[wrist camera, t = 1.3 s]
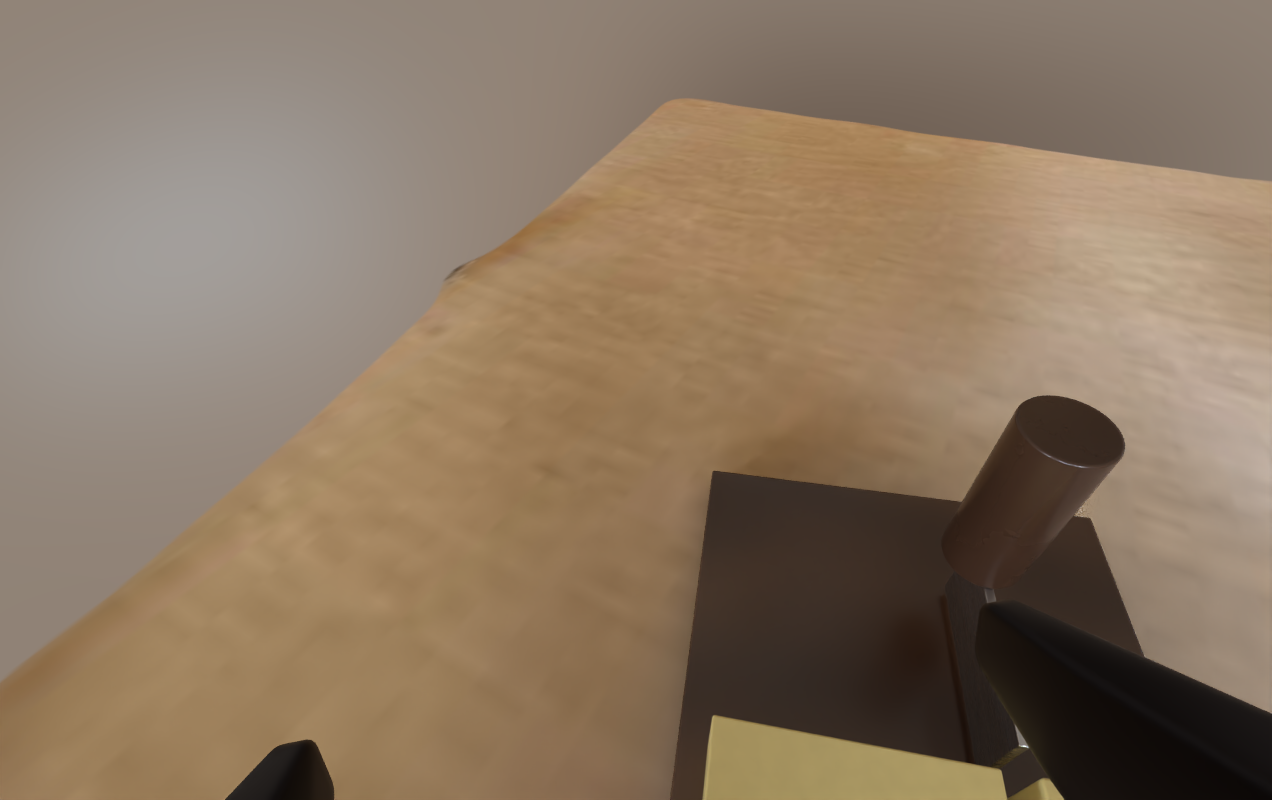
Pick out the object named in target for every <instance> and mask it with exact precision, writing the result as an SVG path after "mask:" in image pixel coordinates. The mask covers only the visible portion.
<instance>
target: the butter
mask: <svg viewBox="0 0 1272 800" xmlns="http://www.w3.org/2000/svg"><path fill="white" fill-rule="evenodd" d="M703 800H1007V796H1006V791H1005V786H1004V781H1003V776H1002V772H1001V770H1000V769H997V768H991V767H986V766H981V765H976V764H970V763H965V762H960V761H955V760H949V759H944V758H939V757H933V756H928V755H923V754H918V753H912V752H907V751H902V750H896V749H891V748H886V747H881V746H875V745H870V744H865V743H860V742H854V741H849V740H844V739H838V738H833V737H828V736H823V735H817V734H812V733H807V732H801V731H796V730H791V729H786V728H780V727H775V726H770V725H765V724H759V723H754V722H749V721H743V720H738V719H733V718H728V717H722V716H717V715H714V716H713V717H712V722H711V728H710V735H709V741H708V748H707V759H706V769H705V779H704V789H703Z"/></svg>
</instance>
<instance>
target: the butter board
mask: <svg viewBox="0 0 1272 800" xmlns="http://www.w3.org/2000/svg"><path fill="white" fill-rule="evenodd" d="M961 503H962V502H958V501H950V500H942V499H934V498H926V497H918V496H910V495H902V494H894V493H886V492H878V491H870V490H863V489H855V488H847V487H839V486H831V485H823V484H815V483H807V482H799V481H791V480H783V479H775V478H767V477H759V476H751V475H743V474H735V473H727V472H719V471H713V472H712V479H711V487H710V495H709V503H708V510H707V518H706V526H705V534H704V541H703V549H702V557H701V565H700V572H699V580H698V588H697V596H696V603H695V611H694V619H693V626H692V634H691V642H690V650H689V657H688V665H687V673H686V681H685V688H684V696H683V704H682V712H681V719H680V727H679V735H678V743H677V750H676V758H675V766H674V774H673V781H672V789H671V797H670V800H703V789H704V779H705V769H706V759H707V748H708V741H709V735H710V728H711V722H712V717H713V716H714V715H717V716H722V717H728V718H733V719H738V720H743V721H749V722H754V723H759V724H765V725H770V726H775V727H780V728H786V729H791V730H796V731H801V732H807V733H812V734H817V735H823V736H828V737H833V738H838V739H844V740H849V741H854V742H860V743H865V744H870V745H875V746H881V747H886V748H891V749H896V750H902V751H907V752H912V753H918V754H923V755H928V756H933V757H939V758H944V759H949V760H955V761H960V762H965V763H970V764H976V762H975V757H974V751H973V745H972V740H971V734H970V728H969V723H968V717H967V711H966V706H965V700H964V694H963V688H962V683H961V677H960V671H959V666H958V660H957V654H956V649H955V643H954V637H953V632H952V626H951V620H950V615H949V609H948V603H947V598H946V592H945V585H946V583H947V582H948V580H949V579H950V577H951V576H952V574H953V573H954V570H953V568H952V567H951V566H950V565H949V563H948V562H947V560H946V559H945V557H944V554H943V551H942V545H941V541H942V536H943V534H944V532H945V530H946V528H947V527H948V525H949V523H950V522H951V520H952V518H953V516H954V515H955V513H956V511H957V510H958V508H959V506H960V505H961ZM994 594H995V598H996V601H999V600H1004V599H1013V600H1017V601H1019V602H1021V603H1024V604H1026V605H1028V606H1030V607H1033V608H1035V609H1037V610H1039V611H1042V612H1044V613H1046V614H1048V615H1051V616H1053V617H1055V618H1057V619H1060V620H1062V621H1064V622H1066V623H1069V624H1071V625H1073V626H1075V627H1078V628H1080V629H1082V630H1084V631H1087V632H1089V633H1091V634H1093V635H1096V636H1098V637H1100V638H1102V639H1105V640H1107V641H1109V642H1111V643H1114V644H1116V645H1118V646H1120V647H1123V648H1125V649H1127V650H1129V651H1132V652H1134V653H1136V654H1138V655H1141V656H1143V657H1144V655H1143V652H1142V650H1141V647H1140V644H1139V642H1138V639H1137V637H1136V634H1135V632H1134V629H1133V627H1132V624H1131V621H1130V619H1129V616H1128V614H1127V611H1126V609H1125V606H1124V603H1123V601H1122V598H1121V596H1120V593H1119V591H1118V588H1117V585H1116V583H1115V580H1114V578H1113V575H1112V573H1111V570H1110V567H1109V565H1108V562H1107V560H1106V557H1105V555H1104V552H1103V549H1102V547H1101V544H1100V542H1099V539H1098V537H1097V534H1096V532H1095V529H1094V526H1093V524H1092V521H1091V519H1090V518H1085V517H1077V516H1073V517H1072V518H1071V519H1070V521H1069V522H1068V523H1067V524H1066V525H1065V526H1064V528H1063V529H1062V530H1061V531H1060V532H1059V534H1058V535H1057V536H1056V537H1055V538H1054V540H1053V541H1052V542H1051V543H1050V544H1049V546H1048V547H1047V548H1046V549H1045V550H1044V552H1043V553H1042V554H1041V555H1040V556H1039V558H1038V559H1037V560H1036V561H1035V562H1034V564H1033V565H1032V566H1031V567H1030V568H1029V570H1028V571H1027V572H1026V573H1025V574H1024V576H1023V577H1022V578H1021V579H1020V580H1019V581H1018V582H1017V583H1016V584H1014V585H1012V586H1010V587H1007V588H1002V589H994ZM1000 770H1001V772H1002V776H1003V781H1004V786H1005V791H1006V796H1007V799H1008V798H1009V797H1011V796H1013V795H1014V794H1016V793H1018V792H1019V791H1021V790H1023V789H1024V788H1026V787H1028V786H1030V785H1031V784H1033V783H1035V782H1036V781H1038V780H1040V779H1041V778H1047V779H1049V778H1048V776H1047V775H1046V773H1045V772H1044V770H1043V769H1042V767H1041V765H1040V764H1039V762H1038V761H1037V759H1036V758H1035V756H1034V755H1033V753H1032V751H1031V750H1030V748H1029V749H1028V750H1026V751H1025V752H1023V753H1022V754H1020V755H1019V756H1018V757H1016V758H1015V759H1013V760H1012V761H1010V762H1009V763H1008V764H1006V765H1005V766H1003V767H1002V768H1000Z"/></svg>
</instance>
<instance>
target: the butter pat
mask: <svg viewBox="0 0 1272 800" xmlns="http://www.w3.org/2000/svg"><path fill="white" fill-rule="evenodd" d="M1007 800H1064V799H1063V797H1062V796H1061V795H1060V793H1059V792H1058V790H1057V789H1056V787H1055V786H1054V785H1053V783H1052V782H1051V780H1050V779H1047V778H1041V779H1040V780H1038V781H1036V782H1035V783H1033V784H1031V785H1030V786H1028V787H1026V788H1024V789H1023V790H1021V791H1019V792H1018V793H1016V794H1014V795H1013V796H1011V797H1009V798H1008V799H1007Z"/></svg>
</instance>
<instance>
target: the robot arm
mask: <svg viewBox="0 0 1272 800" xmlns="http://www.w3.org/2000/svg"><path fill="white" fill-rule="evenodd" d="M975 655H976V659H977V661H978V664H979V666H980V668H981V670H982V671H983V673H984V674H985V676H986V678H987V679H988V681H989V683H990V684H991V686H992V688H993V689H994V691H995V692H996V694H997V696H998V697H999V699H1000V701H1001V702H1002V704H1003V706H1004V707H1005V709H1006V710H1007V712H1008V714H1009V715H1010V717H1011V719H1012V720H1013V722H1014V723H1015V725H1016V727H1017V728H1018V730H1019V732H1020V733H1021V735H1022V737H1023V738H1024V740H1025V741H1026V743H1027V745H1028V746H1029V748H1030V750H1031V751H1032V753H1033V755H1034V756H1035V758H1036V759H1037V761H1038V762H1039V764H1040V765H1041V767H1042V769H1043V770H1044V772H1045V773H1046V775H1047V776H1048V778H1049V779H1050V780H1051V782H1052V783H1053V785H1054V786H1055V787H1056V789H1057V790H1058V792H1059V793H1060V795H1061V796H1062V797H1063V799H1064V800H1272V714H1271V713H1269V712H1267V711H1264V710H1262V709H1260V708H1258V707H1255V706H1253V705H1251V704H1249V703H1246V702H1244V701H1242V700H1240V699H1237V698H1235V697H1233V696H1231V695H1228V694H1226V693H1224V692H1222V691H1219V690H1217V689H1215V688H1213V687H1210V686H1208V685H1206V684H1204V683H1201V682H1199V681H1197V680H1195V679H1192V678H1190V677H1188V676H1186V675H1183V674H1181V673H1179V672H1177V671H1174V670H1172V669H1170V668H1168V667H1165V666H1163V665H1161V664H1159V663H1156V662H1154V661H1152V660H1150V659H1147V658H1145V657H1143V656H1141V655H1138V654H1136V653H1134V652H1132V651H1129V650H1127V649H1125V648H1123V647H1120V646H1118V645H1116V644H1114V643H1111V642H1109V641H1107V640H1105V639H1102V638H1100V637H1098V636H1096V635H1093V634H1091V633H1089V632H1087V631H1084V630H1082V629H1080V628H1078V627H1075V626H1073V625H1071V624H1069V623H1066V622H1064V621H1062V620H1060V619H1057V618H1055V617H1053V616H1051V615H1048V614H1046V613H1044V612H1042V611H1039V610H1037V609H1035V608H1033V607H1030V606H1028V605H1026V604H1024V603H1021V602H1019V601H1017V600H1013V599H1004V600H999V601H994V602H989V603H986V604H984V605H983V606H982V607H981V608H980V611H979V617H978V625H977V633H976V640H975ZM225 800H334V787H333V782H332V779H331V777H330V775H329V772H328V770H327V768H326V765H325V763H324V761H323V758H322V756H321V753H320V751H319V749H318V747H317V745H316V743H315V742H313V741H312V740H302V741H297V742H292V743H287V744H282V745H280V746H277V747H276V748H274V749H273V750H272V751H271V752H270V753H269V754H268V755H267V756H266V757H265V758H264V759H263V760H262V761H261V762H260V763H259V764H258V765H257V766H256V768H255V769H254V770H253V771H252V772H251V773H250V774H249V775H248V776H247V777H246V778H245V779H244V780H243V781H242V782H241V783H240V784H239V785H238V786H237V788H236V789H235V790H234V791H233V792H232V793H231V794H230V795H229V796H228V797H227V798H226V799H225Z"/></svg>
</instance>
